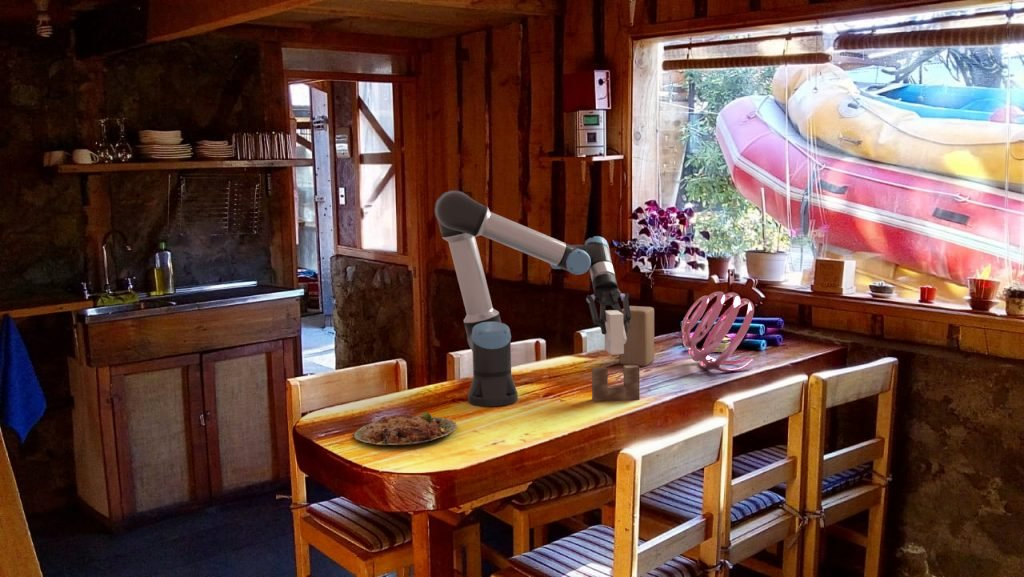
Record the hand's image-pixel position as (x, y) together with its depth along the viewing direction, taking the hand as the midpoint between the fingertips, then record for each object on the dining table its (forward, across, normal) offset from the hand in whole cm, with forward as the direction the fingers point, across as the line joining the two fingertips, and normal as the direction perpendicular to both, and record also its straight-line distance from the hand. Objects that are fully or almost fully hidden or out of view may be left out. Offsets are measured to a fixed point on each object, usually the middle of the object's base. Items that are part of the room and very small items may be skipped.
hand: (617, 341), depth 262 cm
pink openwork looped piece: (-11, -44, -38) cm, 59 cm away
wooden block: (-21, -19, -48) cm, 55 cm away
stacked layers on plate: (-29, -54, -56) cm, 83 cm away
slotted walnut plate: (+11, 0, -15) cm, 19 cm away
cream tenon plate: (0, 0, -5) cm, 5 cm away
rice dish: (+27, +64, +1) cm, 69 cm away
